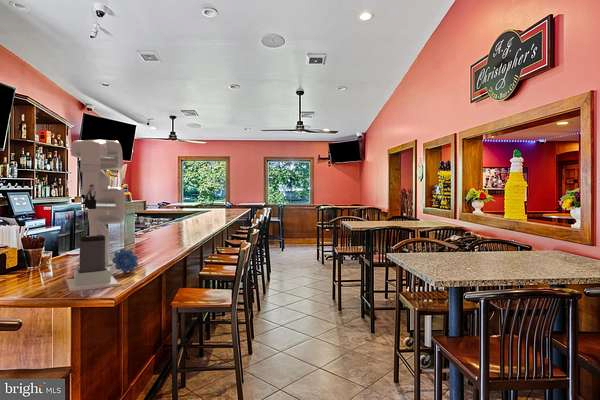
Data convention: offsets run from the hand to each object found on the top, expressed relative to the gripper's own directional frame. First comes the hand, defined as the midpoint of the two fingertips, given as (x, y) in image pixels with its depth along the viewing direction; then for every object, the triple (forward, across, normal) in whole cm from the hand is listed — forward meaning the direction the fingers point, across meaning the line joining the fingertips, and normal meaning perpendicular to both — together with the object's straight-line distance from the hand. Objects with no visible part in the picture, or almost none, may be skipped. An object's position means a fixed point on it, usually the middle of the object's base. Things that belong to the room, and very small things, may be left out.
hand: (90, 208), depth 164 cm
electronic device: (+32, +4, 0) cm, 32 cm away
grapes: (+34, -10, +17) cm, 39 cm away
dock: (+33, +4, 0) cm, 33 cm away
